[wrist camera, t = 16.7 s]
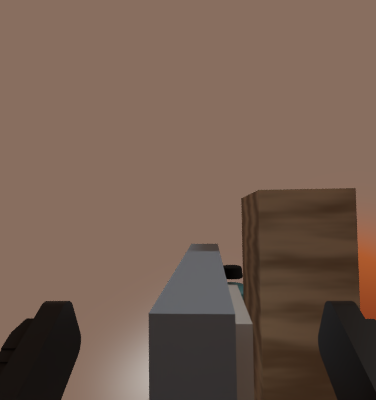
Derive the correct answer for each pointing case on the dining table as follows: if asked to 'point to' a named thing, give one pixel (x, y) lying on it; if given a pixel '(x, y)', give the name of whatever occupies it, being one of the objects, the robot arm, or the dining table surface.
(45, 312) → the robot arm
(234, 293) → the cream stand
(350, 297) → the oak stand
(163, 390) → the gray bar
